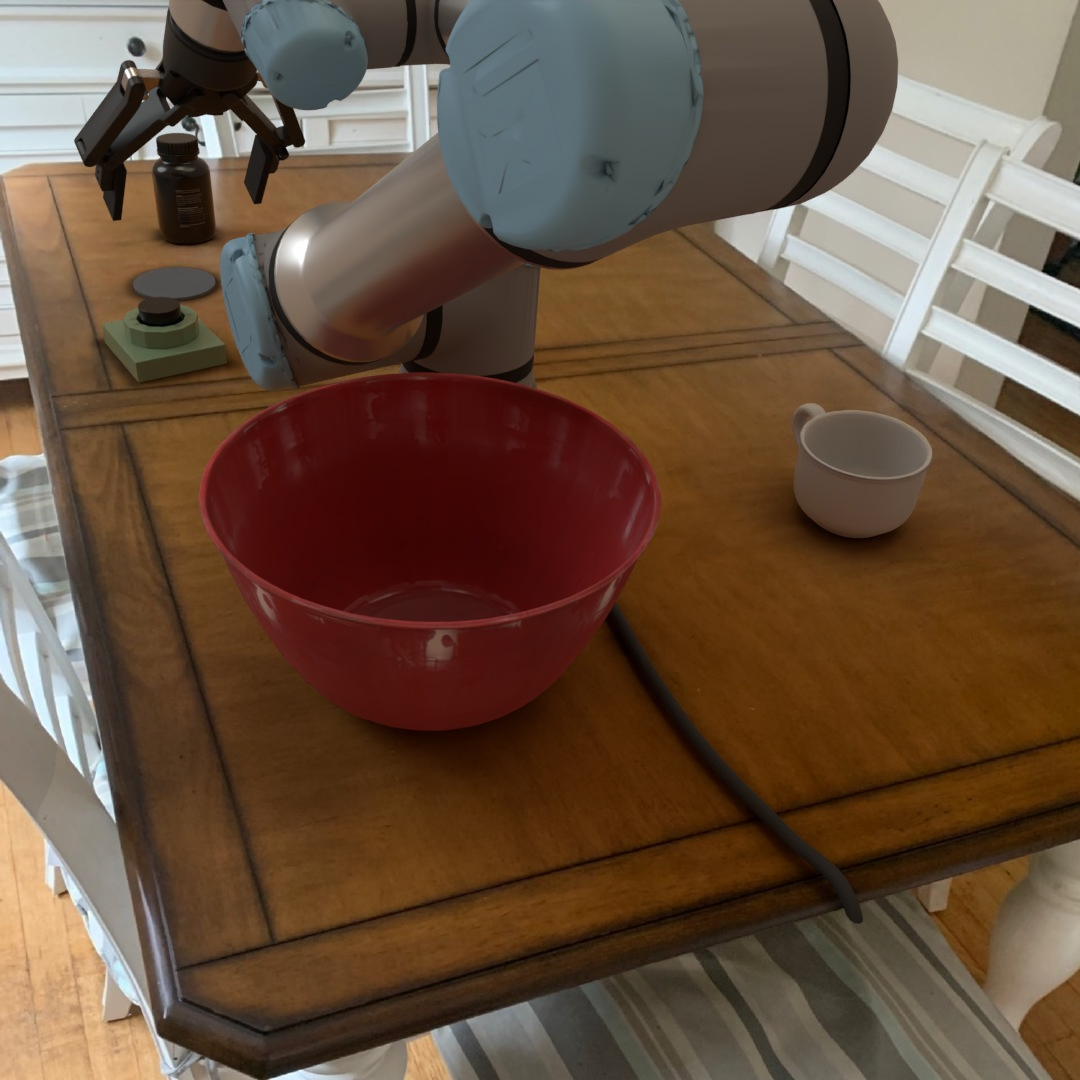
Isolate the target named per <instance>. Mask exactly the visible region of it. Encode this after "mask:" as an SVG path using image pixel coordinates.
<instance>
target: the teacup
mask: <svg viewBox="0 0 1080 1080" xmlns="http://www.w3.org/2000/svg"><path fill="white" fill-rule="evenodd" d="M809 418H810V419H809ZM808 419H809V420H808ZM791 428H792V435H793V438H794V441H795V443H796V445H797V448H798V449H797V450H798V451H797V456H796V462H795V469H794V475H793V491H794V496H795V500H796V502H797V504H798V506H799V508H800V509H801V510H802V512H803V513H804V514H805V515H806V516H807V517H808V518H809V519H811V520H812V521H813V522H814V523H815V524H816V525H817V526H819V527H820V528H822V529H823V530H825V531H828V532H830V533H832V534H834V535H837V536H840V537H844V538H852V539H867V538H871V537H876V536H879V535H882V534H887V533H889V532H892V531H894V530H896V529H898V528H899V527H901V526H902V525H903V524H905V522H906V521H907V520H908V519H909V518H910V516H911V515H912V513H913V512H914V510H915V508H916V506H917V503H918V502H919V501H918V500H919V497H920V495H921V491H922V489H923V486H924V482H925V479H926V475H927V472H928V469H929V467H930V465H931V463H932V460H933V449H932V446H931V444H930V441H929V440H928V439H927V438H926V436H925V435H924V434H923V433H921V431H919V430H918V429H917V428H915V427H913V426H912V425H910V424H908V423H906V422H904V421H902V420H901V419H898V418H896V417H893V416H890V415H887V414H883V413H878V412H874V411H870V410H869V411H868V410H860V409H844V410H843V409H842V410H833V411H829V412H826V411H825V409H824V408H823V407H822V406H821V405H819V404H818V403H815V402H808V403H804V404H802V405H800V406H799V407H797V408H796V409H795V411H794V413H793V416H792V420H791Z"/></svg>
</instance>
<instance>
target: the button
mask: <svg viewBox="0 0 1080 1080" xmlns="http://www.w3.org/2000/svg"><path fill="white" fill-rule="evenodd" d="M180 305H181V302H180V301H178V300H176V299H173V298H169V297H153V298H145V299H142V300H141V301H140V302H139V303H138V304H137V307H138V311H139V318H140V323H141V324H143V325H146V326H150V327H166V326H171V325H175V324H177V323H179V322H181V321H182V315H181V307H180Z"/></svg>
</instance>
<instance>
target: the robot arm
mask: <svg viewBox="0 0 1080 1080" xmlns="http://www.w3.org/2000/svg"><path fill="white" fill-rule="evenodd" d="M423 65H424V66H425V65H449V67H446V68H443V69H441V70H440V71H439V73H438V82H437V91H436V124H437V125H436V126H437V132H436V133H435V134H434V135H433V136H431V137H430V138H429V139H428V140H427V141H426V142H424V143H423V144H422V145H421V146H419V147H418V148H416V150H414V151H413V152H412V153H410V154H409V155H408V156H407V157H406V158H404V159H403V160H402V161H401V162H399V163H397V165H396V166H394V167H393V168H392V169H391V170H389V171H388V172H387V173H386V174H385V175H384V176H383V177H381V178H380V179H379V180H377V181H376V182H375V183H374V184H373V185H371V186H370V187H369V188H367V189H366V190H365V191H364V192H363V193H362V194H360V195H359V196H358V197H357V198H355V199H354V200H353V201H349V200H335V201H329V202H326V203H323V204H320V205H317V206H315V207H313V208H310V209H308V210H306V211H305V212H304V213H302V214H300V215H299V216H297V218H295V219H294V220H293V221H292V222H291V223H290V224H288V225H287V226H286V227H285V228H284V229H281V230H277V231H274V232H273V231H272V232H267V233H261V234H255V232H248V233H247V234H246V235H245V236H242V237H236V238H233V239H231V240H228V241H227V242H226V243H225V244H224V245H223V247H222V249H221V251H220V252H221V253H220V258H219V274H220V283H221V284H220V285H221V290H222V296H223V303H224V306H225V310H226V315H227V319H228V323H229V326H230V329H231V333H232V336H233V339H234V343H235V346H236V348H237V351H238V353H239V356H240V359H241V361H242V363H243V366H244V367H245V369H246V371H247V373H248V375H249V376H250V378H251V379H252V381H253V382H254V383H255V384H256V385H257V386H258V387H259V388H261V389H263V390H265V391H269V392H276V391H282V390H289V389H291V390H294V391H296V390H299V389H300V388H301V387H304V386H307V385H312V384H313V385H314V384H317V383H320V382H326V381H330V380H334V379H338V378H343V377H347V376H352V375H355V374H361V373H364V372H369V371H373V370H377V369H382V368H387V367H390V366H394V365H395V366H396V365H399V364H400V366H399V367H400V369H399V371H398V373H397V374H399V373H414V372H429V373H453V374H464V375H474V376H482V377H488V378H494V379H499V380H504V381H509V382H513V383H518V384H522V385H526V386H530V387H533V388H536V389H538V387H537V382H536V379H535V376H534V375H535V374H534V363H535V360H534V359H535V349H536V336H537V335H536V333H537V321H538V318H537V317H538V306H539V295H540V294H539V292H540V282H541V281H540V279H541V268H542V269H546V270H553V271H565V270H573V269H579V268H582V267H586V266H588V265H591V264H593V263H595V262H598V261H600V260H602V259H604V258H606V257H609V256H612V255H613V254H615V253H618V252H620V251H622V250H625V249H626V248H629V247H631V246H633V245H636V244H638V243H640V242H642V241H644V240H646V239H649V238H652V237H654V236H657V235H660V234H663V233H666V232H670V231H673V230H677V229H681V228H685V227H688V226H693V225H694V226H695V225H700V224H705V223H709V222H716V221H719V220H727V219H731V218H737V217H741V216H747V215H753V214H757V213H763V212H768V211H773V210H779V209H784V208H789V207H794V206H797V205H801V204H805V203H806V202H808V201H810V200H813V199H815V198H817V197H820V196H821V195H825V194H826V193H827V192H829V191H831V190H832V189H834V188H835V187H837V186H838V185H839V184H841V183H842V182H844V181H845V180H846V179H847V178H848V177H850V175H852V174H853V173H854V172H855V171H856V170H857V169H858V168H859V167H860V166H861V164H862V163H864V161H865V160H866V159H867V158H868V157H869V155H870V154H871V153H872V151H873V149H874V148H875V146H876V145H877V144H878V142H879V140H880V138H881V137H882V135H883V133H884V131H885V128H886V126H887V124H888V122H889V119H890V116H891V113H892V112H893V108H894V103H895V99H896V94H897V90H898V80H899V79H898V78H899V56H898V49H897V41H896V37H895V34H894V32H893V28H892V25H891V23H890V21H889V19H888V16H887V15H886V12H885V10H884V8H883V6H882V4H881V2H880V1H879V0H168V8H167V11H166V19H165V26H164V33H163V40H162V58H161V60H160V61H159V63H158V65H156V67H155V69H153V68H152V69H151V68H150V69H149V68H138V67H137V64H136V63H135V61H133V60H132V59H131V60H130V59H126V60H124V61H122V62H121V64H120V66H119V71H118V75H117V79H116V81H115V83H114V84H113V86H112V87H111V88H110V90H109V91H108V92H107V94H106V95H105V97H104V98H103V99H102V101H101V102H100V103H99V104H98V106H97V108H96V109H95V110H94V111H93V113H92V114H91V115H90V117H89V118H88V120H87V121H86V123H85V124H84V125H83V127H82V128H81V129H80V131H79V132H78V133H77V135H76V136H75V138H74V139H73V142H74V145H75V147H76V150H77V151H78V154H79V157H80V159H81V162H82V164H83V165H84V166H85V167H86V168H94V167H95V169H94V170H95V171H94V177H95V179H96V181H97V184H98V186H99V188H100V190H101V192H102V193H103V194H102V199H103V202H104V203H105V206H106V208H107V210H108V211H107V212H108V213H109V214H110V217H111V220H112V222H117V221H122V218H123V216H122V215H123V209H124V201H125V200H124V199H125V191H126V183H127V173H128V170H127V168H126V165H125V162H126V161H127V160H129V158H131V157H132V156H133V155H135V154H136V153H137V152H138V151H139V150H140V149H142V148H143V147H144V146H145V145H146V144H148V143H149V142H150V141H151V140H152V139H153V138H155V137H156V136H157V135H158V134H160V133H161V132H162V131H163V130H164V129H165V128H167V127H175V126H177V125H178V124H179V123H180V122H181V121H182V120H184V119H185V118H186V117H187V118H188V119H189V118H198V117H203V116H206V115H207V116H214V117H217V116H224V113H225V112H228V111H231V112H232V113H233V114H234V115H235V116H236V117H237V118H238V119H239V120H240V121H241V122H243V121H244V123H245V124H246V125H247V126H248V127H249V128H250V129H251V130H252V131H253V132H254V139H253V142H252V147H251V151H250V155H249V159H248V164H247V168H246V172H245V174H244V175H245V176H244V179H243V180H244V181H243V184H244V187H245V189H246V190H247V192H248V195H249V197H250V199H251V201H252V203H253V205H261V204H262V202H263V198H264V195H265V192H266V188H267V184H268V180H269V176H270V175H273V174H276V172H277V171H278V169H279V164H280V161H285V160H287V159H288V158H289V157H290V152H289V151H288V149H287V148H288V147H291V146H293V147H294V148H295V149H297V148H302V147H303V146H304V145H305V144H306V139H305V136H304V133H303V130H302V128H301V126H300V123H299V120H298V118H297V114H296V112H295V110H299V111H317V110H322V109H323V110H324V109H326V108H327V107H328V105H329V104H330V103H332V102H333V101H339V102H341V101H343V100H345V99H347V98H348V97H349V96H350V95H351V94H353V92H355V90H356V89H357V88H358V87H359V86H360V85H361V83H362V81H363V79H364V78H365V76H366V73H367V70H377V69H379V70H381V69H389V68H390V69H392V68H400V67H404V66H405V67H406V66H423ZM258 82H261V84H262V86H263V88H265V89H268V91H269V93H270V95H271V97H272V100H273V102H274V105H275V107H276V110H277V113H278V115H279V117H280V121H281V123H282V125H281V126H276V125H275V124H274V123H273V121H272V120H271V119H269V117H268V116H267V115H266V114H265V113H264V112H263V111H262V109H260V107H259V106H258V105H257V104H256V103H255V102H254V101H253V100H252V98H250V96H249V95H248V94H249V93H250V92H251V90H253V89H254V88H255V87H256V86H257V84H258ZM167 99H168V100H167ZM168 101H169V102H170V103H171V104H172V105H173V106H172V107H171V106H170V104H169V102H168ZM608 615H609V617H610V618H611V620H612V622H613V624H614V626H615V627H616V629H617V630H618V632H619V634H620V635H621V637H622V640H623V641H624V642H625V645H626V646H627V648H628V650H629V652H630V654H631V656H632V658H633V659H634V661H635V662H636V664H637V666H638V669H639V670H640V671H641V673H642V674H643V677H644V678H645V680H646V682H647V683H648V684H649V686H650V687H651V689H652V690H653V692H654V693H655V695H656V696H657V698H658V699H659V701H660V702H661V704H662V705H663V707H664V708H665V710H666V711H667V713H668V714H669V715H670V717H671V718H672V720H673V721H674V723H675V724H676V726H677V727H678V728H679V729H680V732H682V733H683V735H684V736H685V738H686V739H687V740H688V742H690V744H691V745H692V746H693V748H694V749H695V750H696V751H697V752H698V754H699V755H700V756H701V757H702V759H703V760H704V761H705V763H706V764H708V766H709V767H710V768H711V769H712V770H713V772H714V773H716V775H717V776H718V777H719V778H720V779H721V780H722V781H723V782H724V784H726V786H727V787H728V788H729V789H730V790H731V791H732V792H733V793H734V794H735V795H736V796H737V797H738V798H739V799H740V800H741V801H742V802H743V803H744V804H745V805H746V806H747V807H748V808H749V809H750V810H751V811H752V812H753V813H754V814H755V815H756V816H757V817H758V819H760V820H761V821H762V822H763V823H764V824H765V825H766V826H767V827H768V828H769V829H770V830H771V831H772V832H773V833H774V835H776V836H777V838H778V839H780V840H781V842H783V843H784V844H785V845H786V846H787V847H788V848H789V849H790V850H791V851H792V852H793V853H794V854H796V855H797V856H799V857H800V858H801V859H802V860H804V861H805V863H807V864H809V865H810V866H811V867H813V868H814V869H815V870H816V871H817V872H818V873H820V874H821V875H822V876H823V877H824V878H825V879H826V880H827V882H828V883H829V884H830V885H831V886H832V888H833V890H834V891H835V893H836V895H837V896H838V898H839V901H840V904H841V905H842V907H843V910H844V914H845V916H846V917H847V918H848V920H849V921H851V922H852V923H854V924H858V925H860V924H862V923H863V922H864V915H863V912H862V909H861V908H862V907H861V905H860V903H859V900H858V897H857V895H856V894H855V891H854V890H853V887H852V886H851V883H849V881H848V879H847V877H845V875H844V874H843V872H842V871H841V870H840V869H839V868H838V867H837V866H836V865H835V864H834V863H833V862H832V861H831V860H829V859H828V858H827V857H826V856H825V855H824V854H822V853H821V852H819V850H817V849H816V848H814V847H813V846H812V845H811V844H809V843H807V842H806V841H805V840H804V839H803V838H802V837H801V836H799V835H798V834H797V833H796V832H795V831H794V830H793V829H792V828H791V826H789V825H788V824H787V823H786V822H785V821H784V820H783V819H782V818H781V817H780V816H779V815H778V814H777V813H776V812H775V811H774V809H772V808H771V807H770V806H769V805H768V804H767V803H766V801H764V800H763V799H762V798H761V797H760V796H759V795H758V794H756V792H755V791H754V790H753V789H752V788H751V787H750V786H749V785H748V784H747V783H746V782H744V780H743V779H742V778H741V777H739V775H738V774H737V773H736V772H735V771H734V770H733V769H732V767H730V765H729V764H728V763H727V762H725V760H724V759H723V758H722V757H721V755H720V754H718V752H717V751H716V750H715V749H714V747H713V746H712V745H711V744H710V743H709V742H708V740H707V739H706V738H705V737H704V735H703V734H702V733H701V732H700V730H699V729H698V728H697V727H696V725H695V724H694V723H693V721H692V720H691V718H689V717H688V715H687V714H686V712H685V711H684V709H683V708H682V706H681V705H680V704H679V702H678V701H677V700H676V698H675V696H674V695H673V694H672V692H671V690H670V689H669V688H668V686H667V684H666V683H665V681H664V680H663V678H662V677H661V676H660V674H659V673H658V671H657V669H656V668H655V666H654V665H653V663H652V661H651V659H650V658H649V657H648V655H647V653H646V651H645V650H644V647H643V646H642V644H641V643H640V641H639V639H638V637H637V636H636V634H635V632H634V630H633V628H632V626H631V625H630V623H629V622H628V620H627V618H626V617H625V615H624V613H623V611H622V610H621V609H620V607H619V605H618V604H617V601H616V602H615V604H614V606H613V607H612V609H611V611H610V612H609V614H608Z"/></svg>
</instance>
